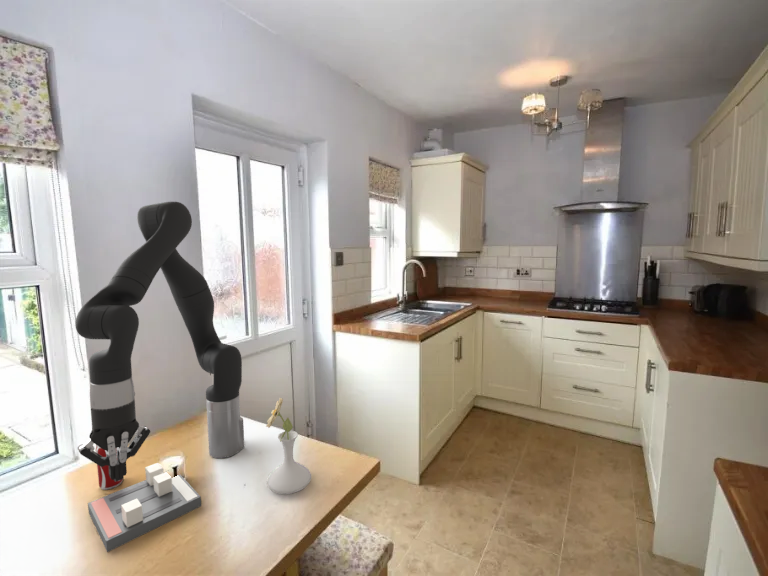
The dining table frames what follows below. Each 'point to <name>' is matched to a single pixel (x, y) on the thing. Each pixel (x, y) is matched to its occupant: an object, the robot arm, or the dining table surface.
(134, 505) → the block
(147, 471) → the block
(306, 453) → the dining table surface
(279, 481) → the flower in vase
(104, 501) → the block
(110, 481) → the soda can
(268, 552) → the dining table surface
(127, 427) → the robot arm
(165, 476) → the block
